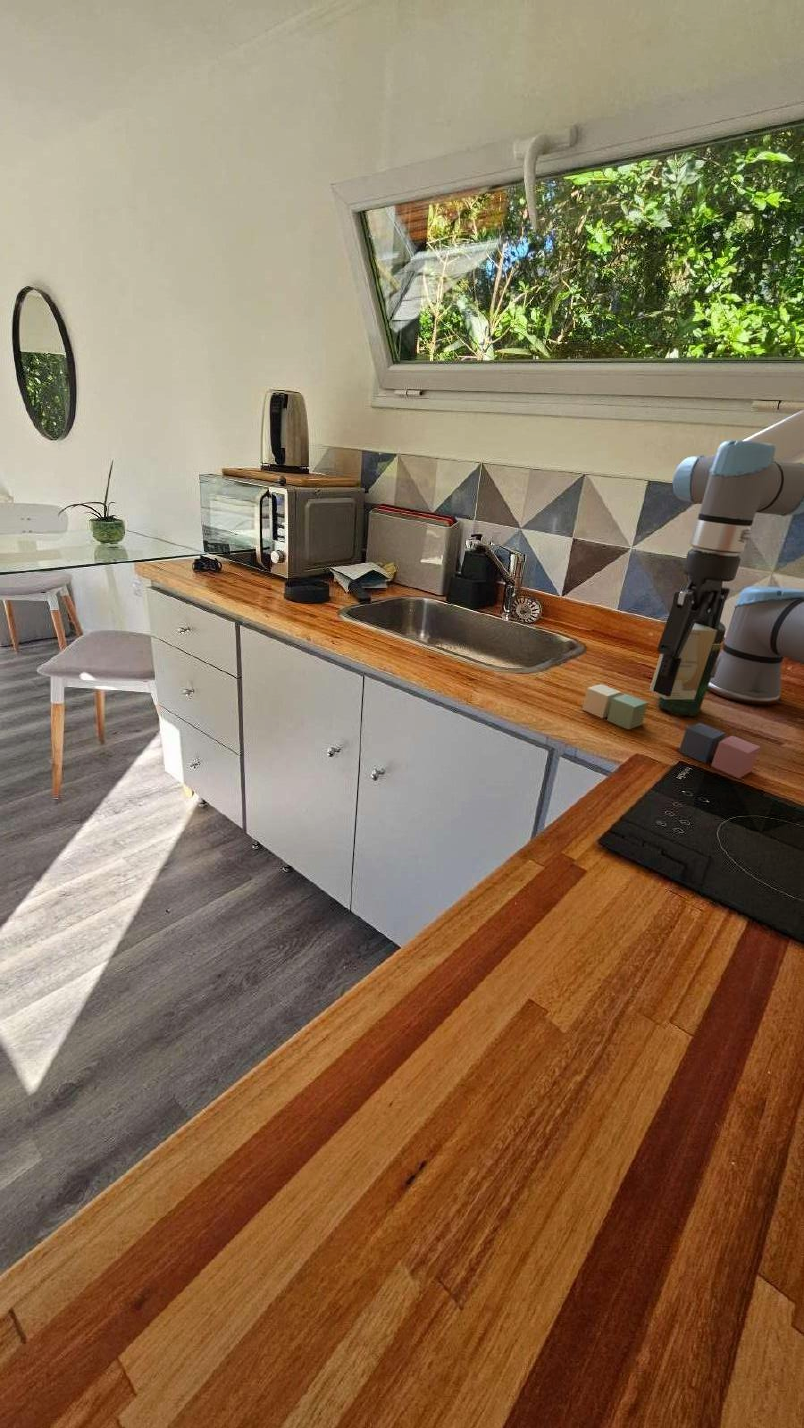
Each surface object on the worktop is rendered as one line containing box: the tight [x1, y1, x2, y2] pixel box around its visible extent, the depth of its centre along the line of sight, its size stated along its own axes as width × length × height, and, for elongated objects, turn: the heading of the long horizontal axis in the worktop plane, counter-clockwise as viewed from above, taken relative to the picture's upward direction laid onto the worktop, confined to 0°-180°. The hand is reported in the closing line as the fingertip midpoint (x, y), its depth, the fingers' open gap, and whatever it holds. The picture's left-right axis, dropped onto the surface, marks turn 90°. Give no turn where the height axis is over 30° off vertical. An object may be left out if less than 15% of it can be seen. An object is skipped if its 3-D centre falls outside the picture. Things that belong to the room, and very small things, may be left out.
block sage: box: [606, 693, 649, 731], centre depth 108 cm, size 4×4×4 cm
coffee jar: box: [657, 621, 727, 717], centre depth 115 cm, size 10×8×19 cm
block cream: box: [581, 683, 622, 719], centre depth 112 cm, size 4×4×4 cm
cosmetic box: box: [649, 623, 717, 699], centre depth 99 cm, size 6×4×12 cm
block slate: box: [678, 722, 726, 764], centre depth 99 cm, size 4×4×4 cm
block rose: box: [710, 735, 761, 779], centre depth 95 cm, size 4×4×4 cm
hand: (673, 689), depth 101 cm, fingers closed on cosmetic box, 7 cm apart
